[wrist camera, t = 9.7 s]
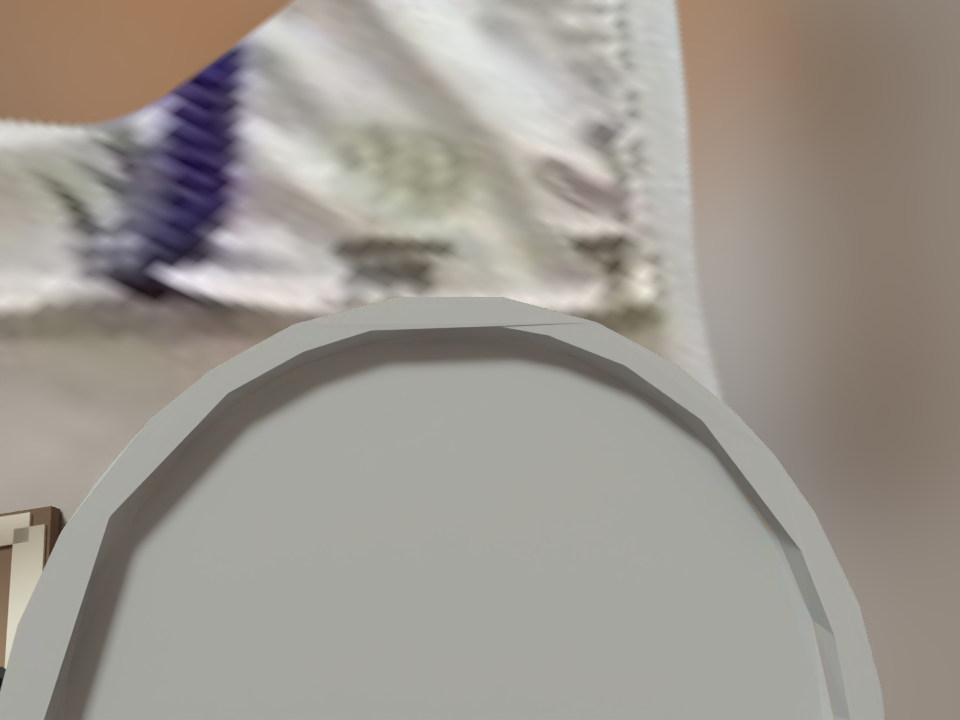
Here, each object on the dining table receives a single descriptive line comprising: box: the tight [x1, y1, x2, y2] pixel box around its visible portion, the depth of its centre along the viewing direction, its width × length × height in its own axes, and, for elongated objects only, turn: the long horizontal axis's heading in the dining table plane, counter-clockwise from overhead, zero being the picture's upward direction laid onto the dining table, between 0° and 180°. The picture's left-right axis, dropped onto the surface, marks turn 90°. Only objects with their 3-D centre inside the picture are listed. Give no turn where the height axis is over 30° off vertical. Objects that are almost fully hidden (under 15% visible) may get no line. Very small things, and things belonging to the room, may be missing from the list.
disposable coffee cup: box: [0, 297, 885, 720], centre depth 12 cm, size 10×10×12 cm
